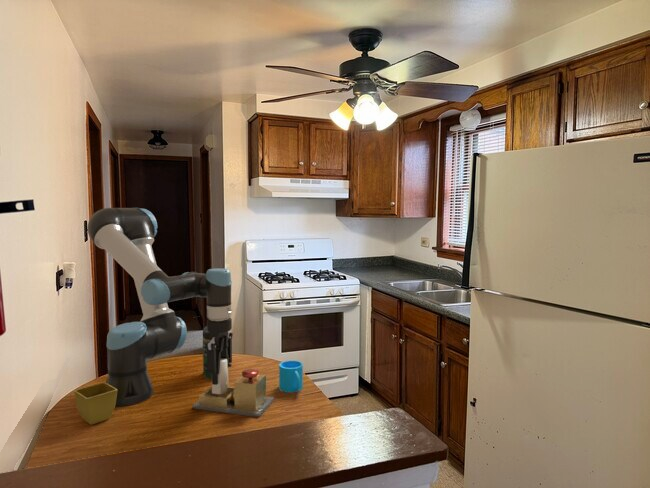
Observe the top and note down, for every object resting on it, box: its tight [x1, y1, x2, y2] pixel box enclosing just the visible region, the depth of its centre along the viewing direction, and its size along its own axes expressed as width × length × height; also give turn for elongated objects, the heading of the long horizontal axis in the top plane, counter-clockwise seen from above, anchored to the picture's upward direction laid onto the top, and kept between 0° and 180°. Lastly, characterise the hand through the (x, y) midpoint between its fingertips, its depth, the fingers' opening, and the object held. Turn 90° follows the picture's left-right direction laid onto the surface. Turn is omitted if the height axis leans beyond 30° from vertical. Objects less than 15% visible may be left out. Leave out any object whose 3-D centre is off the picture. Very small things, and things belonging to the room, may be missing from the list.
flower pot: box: [73, 381, 118, 425], centre depth 127 cm, size 9×9×9 cm
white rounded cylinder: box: [219, 358, 229, 394], centre depth 139 cm, size 4×4×10 cm
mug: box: [278, 360, 304, 393], centre depth 150 cm, size 12×8×8 cm
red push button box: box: [192, 368, 275, 418], centre depth 138 cm, size 22×12×11 cm, turn 75°
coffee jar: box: [202, 325, 219, 380], centre depth 162 cm, size 10×8×19 cm
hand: (220, 390), depth 139 cm, fingers closed on white rounded cylinder, 4 cm apart
